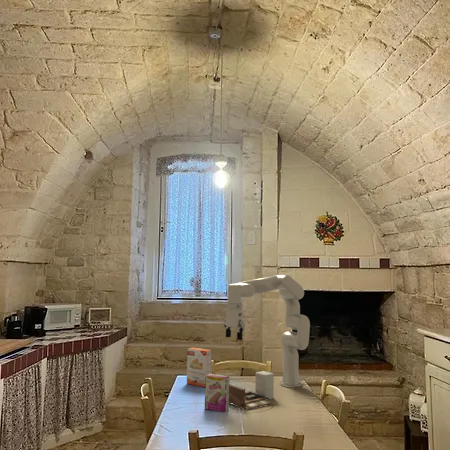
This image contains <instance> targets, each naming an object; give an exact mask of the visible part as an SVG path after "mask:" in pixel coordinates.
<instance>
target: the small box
mask: <svg viewBox="0 0 450 450" xmlns="http://www.w3.org/2000/svg"><path fill="white" fill-rule="evenodd" d="M274 378H275V377H274V373H272V372H270V371H269V372H268V371H265V370H262V371H256V372H255V391H254V392H257V393H260V394H263V395H264V397H267V398H269V399H266V398H265V400H267V401H269V400H271V399H274V396H275V395H274V394H275V393H274V390H275V389H274V387H275V386H274V382H275V381H274Z"/></svg>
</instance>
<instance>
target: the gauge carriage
mask: <svg viewBox="0 0 450 450" xmlns="http://www.w3.org/2000/svg"><path fill="white" fill-rule="evenodd" d="M248 392H249V395H248V396H245V399H248V400H251V399H255V398H266V399H268V400H270V399H269V398H267V397H264V395H263V394H260V393H257V392H255V391H254V390H249V391H248Z"/></svg>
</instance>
